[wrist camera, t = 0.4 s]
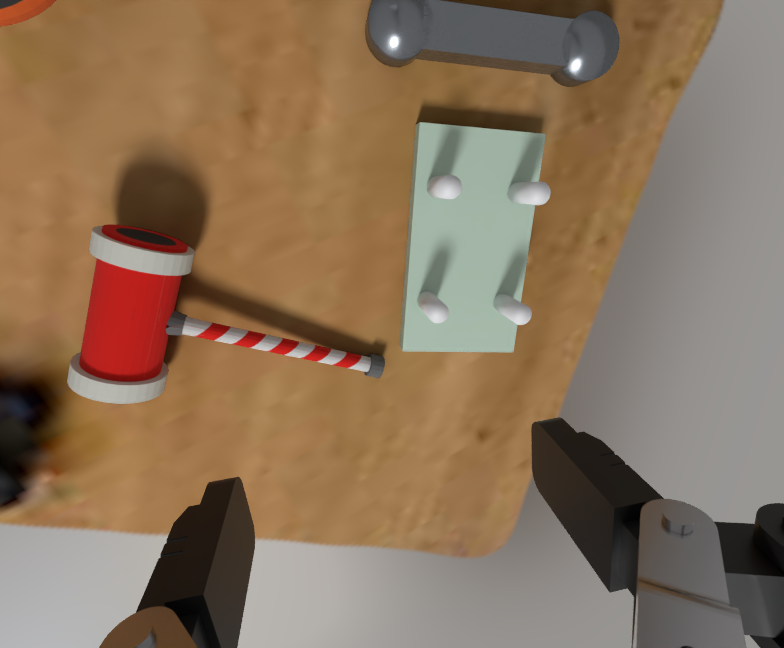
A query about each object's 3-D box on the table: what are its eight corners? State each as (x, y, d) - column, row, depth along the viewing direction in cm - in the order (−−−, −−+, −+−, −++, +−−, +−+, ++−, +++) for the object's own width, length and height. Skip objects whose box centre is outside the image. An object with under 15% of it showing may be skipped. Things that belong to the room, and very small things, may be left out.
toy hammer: (400, 300, 39) (415, 322, 33) (361, 419, 42) (368, 458, 36) (116, 219, 34) (72, 226, 28) (92, 360, 37) (47, 394, 31)
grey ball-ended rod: (363, 63, 33) (367, 53, 31) (366, -6, 32) (370, -22, 29) (592, 89, 36) (612, 82, 34) (603, 27, 35) (624, 14, 32)
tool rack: (415, 124, 35) (432, 113, 30) (537, 135, 36) (573, 127, 31) (399, 345, 40) (411, 369, 35) (506, 346, 41) (533, 369, 36)
